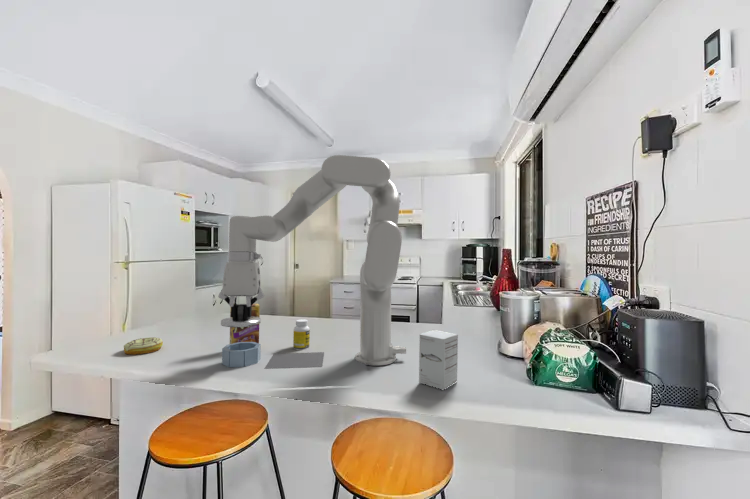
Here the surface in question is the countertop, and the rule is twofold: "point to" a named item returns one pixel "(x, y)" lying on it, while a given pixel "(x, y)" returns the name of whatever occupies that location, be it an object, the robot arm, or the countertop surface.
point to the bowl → (241, 354)
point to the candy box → (246, 329)
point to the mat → (295, 360)
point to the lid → (240, 318)
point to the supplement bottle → (301, 335)
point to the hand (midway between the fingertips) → (241, 319)
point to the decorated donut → (143, 346)
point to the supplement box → (438, 358)
